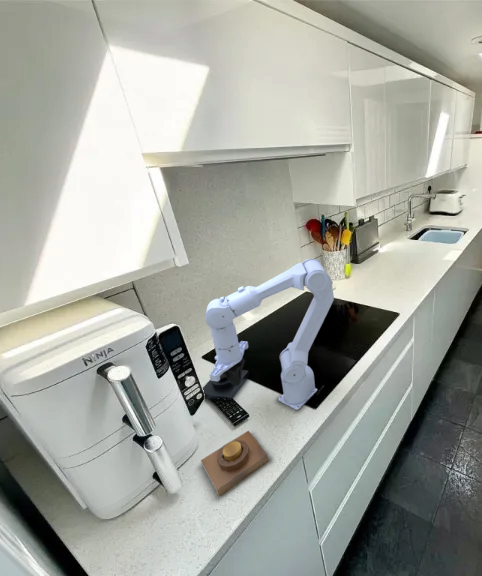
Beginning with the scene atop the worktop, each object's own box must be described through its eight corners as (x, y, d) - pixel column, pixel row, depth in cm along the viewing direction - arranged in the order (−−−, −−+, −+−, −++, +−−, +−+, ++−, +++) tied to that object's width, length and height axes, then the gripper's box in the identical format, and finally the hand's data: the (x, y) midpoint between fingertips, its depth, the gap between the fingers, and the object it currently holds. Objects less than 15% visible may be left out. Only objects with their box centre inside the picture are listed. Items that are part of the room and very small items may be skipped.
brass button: (237, 443, 76) (236, 438, 76) (244, 453, 74) (243, 448, 73) (221, 453, 74) (219, 448, 73) (228, 464, 71) (226, 459, 71)
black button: (221, 372, 100) (220, 368, 99) (232, 374, 99) (231, 370, 98) (213, 381, 96) (212, 377, 96) (225, 383, 96) (224, 378, 95)
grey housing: (222, 372, 105) (220, 363, 104) (249, 375, 104) (247, 366, 102) (199, 398, 95) (196, 388, 93) (229, 402, 93) (226, 392, 91)
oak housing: (249, 436, 82) (247, 425, 81) (268, 460, 76) (266, 449, 74) (202, 466, 75) (198, 455, 73) (219, 496, 68) (215, 485, 67)
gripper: (228, 327, 87) (237, 365, 93) (193, 359, 74) (206, 401, 80) (251, 329, 86) (259, 367, 92) (220, 362, 73) (231, 404, 79)
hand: (236, 383), depth 86 cm, fingers closed
